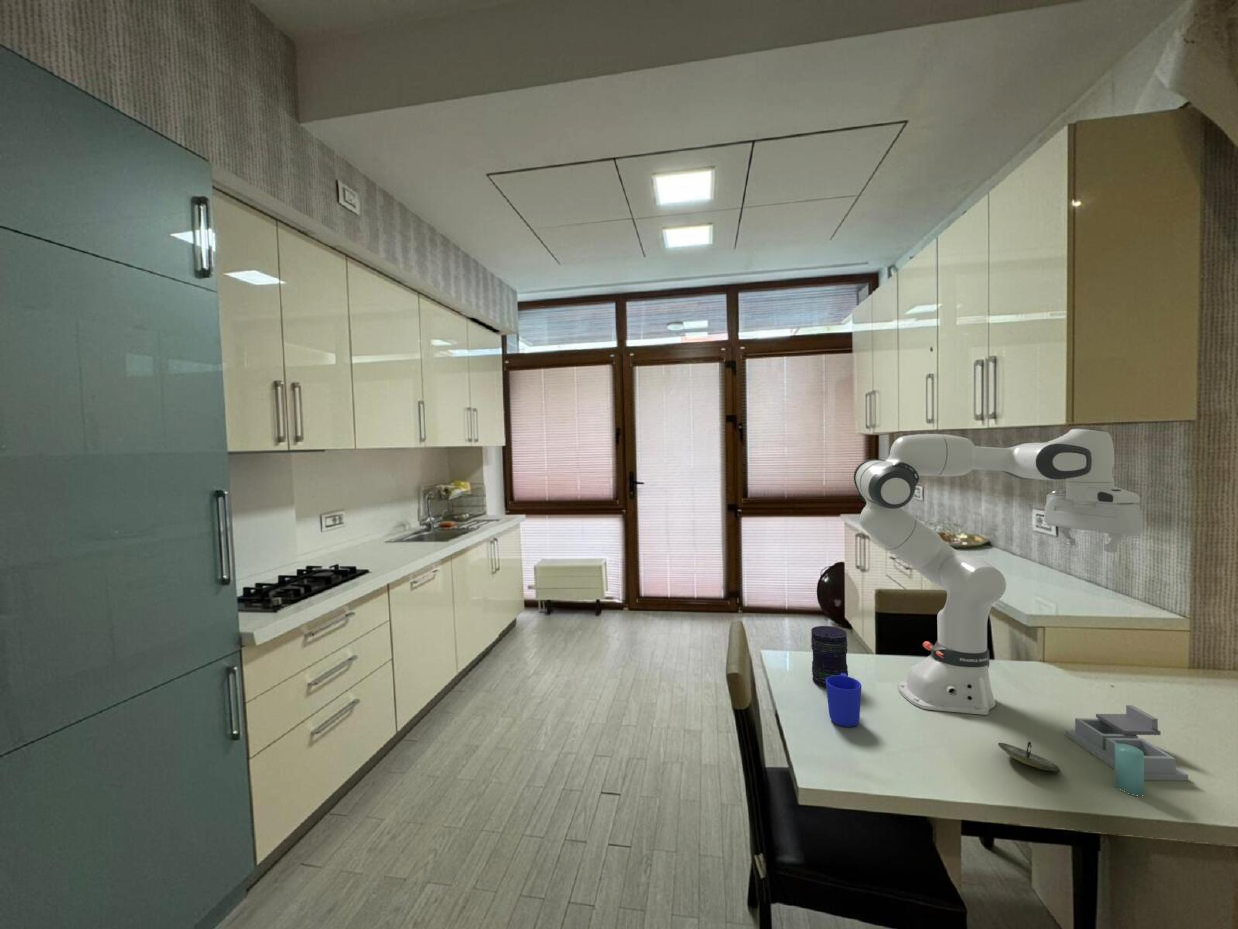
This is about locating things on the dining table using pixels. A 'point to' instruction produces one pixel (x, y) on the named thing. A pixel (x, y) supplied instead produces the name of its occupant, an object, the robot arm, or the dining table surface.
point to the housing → (1104, 738)
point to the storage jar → (828, 653)
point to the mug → (843, 699)
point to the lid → (1028, 757)
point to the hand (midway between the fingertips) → (1089, 548)
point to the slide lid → (1132, 722)
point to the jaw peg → (1129, 769)
